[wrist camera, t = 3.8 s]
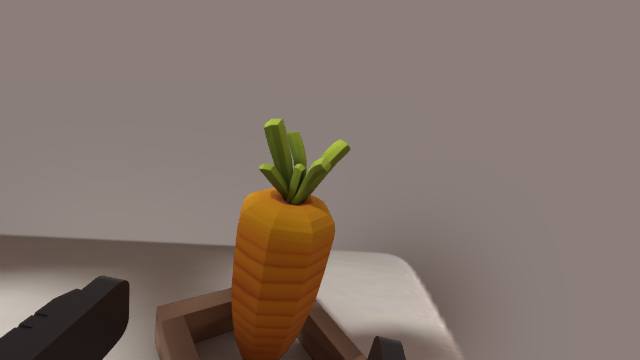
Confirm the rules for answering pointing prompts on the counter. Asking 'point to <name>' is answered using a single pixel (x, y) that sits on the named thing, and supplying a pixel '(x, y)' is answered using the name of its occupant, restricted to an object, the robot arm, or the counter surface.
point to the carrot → (281, 247)
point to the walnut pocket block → (216, 317)
